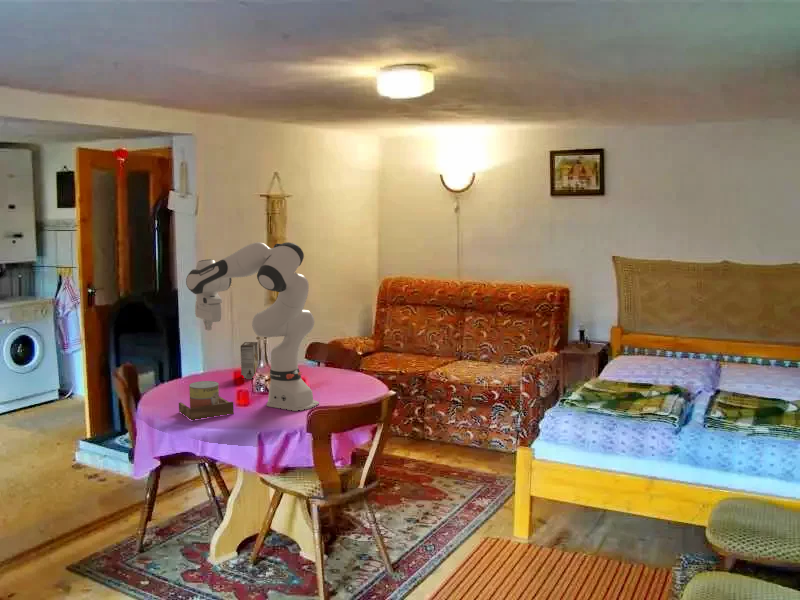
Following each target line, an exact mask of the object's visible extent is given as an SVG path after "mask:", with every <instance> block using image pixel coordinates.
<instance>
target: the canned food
mask: <svg viewBox="0 0 800 600" xmlns="http://www.w3.org/2000/svg"><path fill="white" fill-rule="evenodd" d="M219 385H220V384H219V382H218V381H214V380H200V381H195V382H191V383H190V384H189V385H188V387H189V389H188V390H189V408H195V407H201V406H207V405H214V404H219V395H220V394H219V393H220V391H219V389H220V388H219Z"/></svg>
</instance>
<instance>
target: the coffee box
mask: <svg viewBox="0 0 800 600" xmlns="http://www.w3.org/2000/svg"><path fill="white" fill-rule="evenodd" d="M257 366H258V367H259V351H258V342H257V341H245V342H243V343H242V344H241V345H240V374H241V375H243V376H244V378H246V379H245V380H253V379H252V377H253V376H254V374H255V372H256V368H257Z"/></svg>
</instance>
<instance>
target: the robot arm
mask: <svg viewBox="0 0 800 600" xmlns="http://www.w3.org/2000/svg"><path fill="white" fill-rule="evenodd" d="M304 257H305V253H304V251H303V249H302V248H301V247H300V246H299V245H297V244H296V243H294V242H283V243H276V244H275V243H274V246H273V248H272V247H269V246H268V245H267V244H266V243H264V242H259V241H257V242H253V243H250V244H247V245H245V246H243V247H241V248H240V249H239V250H236V251H235V252H233V253H231V254H229V255H227V256H226V257H224V258H222V259H220V260H218V261H216V260H214V259H212V258H211V259H202V260H199V261H197V262H196V267H195V269H191V270H190V271H189V273H188V274H187V276H186V279H185V284H186V287H187V289H188V290H189V291H190V293H192V294H194V295H195V296H196V300H195V306H194V307H195V311H194V312H195V313H194V314H195V317H196V318H199V319H202V320H203V324H204V329H205V330H206V331H212V325H213V323H216V322H217V323H218V322H221V319H222V303H223V298H222V297H221V296H220V295H219V292H225V291H228V290H229V289H230V287H231V285H232V279H233V278H245V277H250V276H252V275H256V279H257V281H258V284H259V285H260V286H261V287H263V288H264V289H265V290H268V291H271V292H276V293H278V295H277V297H276V300H275V301H274V303H273V304H271V305H270V306H269V307H267V308H266V309H264V310H262V311H259V312H257V313H255V315H254V316H253V319H252V322H251V327H252V330H253V332H254V333H255V334H256V336H258V337H263V338H277V337H283V339H282V341H281V342H280V343H279V344H277V345H275V346H274V347H273V348H272V349H271V351H270V370H269V377H270V384H269V386H268V387H269V388H268V398H267V402H266V407H269V408H275V409H280V408H281V409H282V410H286V409H287V410H288V411H291V410H292V411H293V412H299V411H298V410H300V411H305V410H309V409H313V408H315V407H317V406H316V405H317V404H319V405H320V401H317V400H315V399H314V395H313V391H312V389H311V387H310V386H309V385H307V383H306V382H305V381H304V380H303V379H302V375H303V371H300V368H299V350H300V346H301V344H302V342H303V340H304V339H305V337H306V336H307V335H308V334H309V333H311V332H312V331H313V329H314V327H315V326H314V325H315V317H314V315H313V314H312V312H311V311H310V310H309V309H304V308H305V304H306V302H307V299H308V294H309V287H310V286H309V285H310V284H309V281H308V279H307V277H306V276H305V275H303V274H301V273H297V269H298V268H299V267H300V266H301V265H302V263H303V261H304V259H305V258H304ZM314 406H315V407H314ZM312 407H313V408H312ZM281 409H280V410H281ZM304 409H305V410H304ZM287 410H286V411H287ZM292 411H291V412H292Z"/></svg>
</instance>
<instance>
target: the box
mask: <svg viewBox="0 0 800 600" xmlns="http://www.w3.org/2000/svg"><path fill="white" fill-rule="evenodd" d="M179 412H181V413H182V414H184V415H185V416H187V417H188V418H189V419H191V420H195V419H201V418H207V417H214V416H220V415H227V414H233V415H234V413H235V411H234V401H228V400H226V399H225V398H223V397H222V396H219V404H214V405H207V406H201V407H195V408H190V406H189V407H188V406H187V405H186V404H184V403H183V402H178V413H179ZM182 414H181V415H182ZM185 416H184V417H185ZM227 416H228V415H227ZM189 419H188V420H189Z"/></svg>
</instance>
